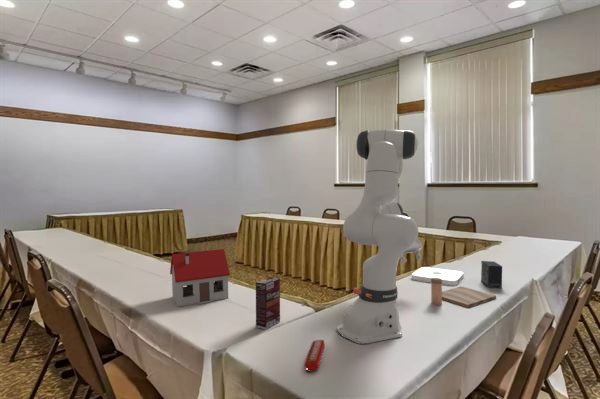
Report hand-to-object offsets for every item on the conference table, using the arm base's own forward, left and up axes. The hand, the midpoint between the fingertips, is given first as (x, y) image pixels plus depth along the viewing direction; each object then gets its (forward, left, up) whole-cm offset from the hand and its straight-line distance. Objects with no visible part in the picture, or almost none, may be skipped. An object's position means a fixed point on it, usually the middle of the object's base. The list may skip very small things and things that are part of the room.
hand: (412, 260), depth 148 cm
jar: (0, -12, -16) cm, 20 cm away
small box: (+44, -10, -16) cm, 48 cm away
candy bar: (-66, -21, -16) cm, 72 cm away
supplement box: (-67, +7, -16) cm, 69 cm away
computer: (+34, +12, -16) cm, 40 cm away
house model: (-79, +51, -16) cm, 95 cm away
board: (+16, -14, -16) cm, 26 cm away
